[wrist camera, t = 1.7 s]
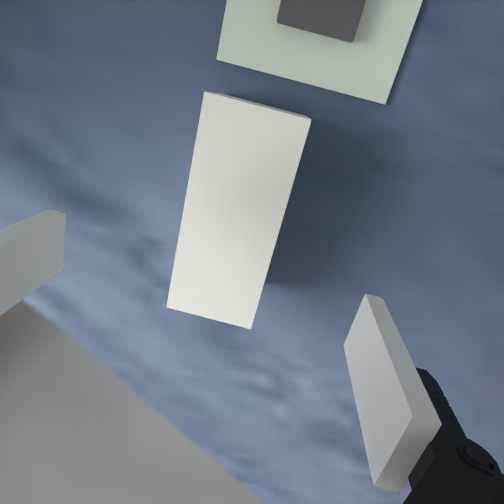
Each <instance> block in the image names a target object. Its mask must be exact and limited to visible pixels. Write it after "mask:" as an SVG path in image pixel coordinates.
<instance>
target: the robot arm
mask: <svg viewBox="0 0 504 504" xmlns="http://www.w3.org/2000/svg"><path fill="white" fill-rule="evenodd" d="M65 219H66V213H62V212H58V211H54V210H51V209H47V210H44V211H42V212H40V213H37V214H35V215H33V216H30V217H28V218H25V219H23V220H21V221H18V222H16V223H14V224H11V225H9V226H7V227H4V228H2V229H0V315H1V314H3V313H4V312H6V311H7V310H8V309H10V308H11V307H13V306H14V305H15V304H17V303H18V302H20V301H21V300H22V299H24V298H25V297H27V296H28V295H29V294H31V293H32V292H34V291H35V290H36V289H38V288H39V287H41V286H42V285H43V284H45V283H46V282H48V281H49V280H50V279H52V278H53V277H55V276H56V275H57V274H59V273H60V272H62V271H63V262H64V240H65ZM344 350H345V355H346V359H347V364H348V369H349V373H350V378H351V383H352V388H353V392H354V397H355V402H356V406H357V411H358V416H359V420H360V425H361V430H362V434H363V439H364V444H365V448H366V453H367V458H368V462H369V467H370V472H371V476H372V481H373V486H374V487H378V488H381V489H385V490H389V491H392V492H396V493H400V492H401V491H402V489H403V487H404V486H405V484H406V482H407V481H408V479H409V483H410V486H411V489H412V491H411V493H410V494H409V495H408V497H407V498H406V500H405V501H404V503H403V504H504V475H503V474H502V473H501V471H500V469H499V466H498V464H497V462H496V461H495V460H494V459H493V457H492V456H491V455H490V454H489V453H488V452H487V451H486V450H485V449H484V448H482V447H481V446H480V445H478V444H477V443H475V442H473V441H472V440H470V439H467V437H466V435H465V434H464V432H463V430H462V428H461V426H460V424H459V422H458V420H457V418H456V416H455V415H454V413H453V411H452V409H451V407H450V406H449V403H448V401H447V399H446V397H445V396H443V395H444V394H443V392H442V390H441V388H440V386H439V384H438V382H437V381H436V380H435V379H434V378H433V377H432V376H431V375H430V374H429V373H428V372H427V371H426V370H424V369H420V368H416V367H415V366H414V364H413V362H412V359H411V357H410V355H409V353H408V351H407V349H406V347H405V345H404V342H403V340H402V338H401V336H400V334H399V332H398V330H397V328H396V325H395V323H394V321H393V319H392V317H391V315H390V313H389V311H388V308H387V306H386V304H385V302H384V300H383V298H380V297H376V296H373V295H369V294H365V295H364V298H363V300H362V302H361V305H360V307H359V310H358V312H357V314H356V317H355V319H354V322H353V324H352V326H351V329H350V331H349V334H348V336H347V338H346V341H345V343H344Z"/></svg>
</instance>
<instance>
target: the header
mask: <svg viewBox="0 0 504 504" xmlns="http://www.w3.org/2000/svg"><path fill="white" fill-rule="evenodd" d="M422 1H423V0H227V3H226V9H225V14H224V20H223V25H222V31H221V36H220V42H219V47H218V53H217V58H216V60H219V61H222V62H226V63H230V64H234V65H237V66H241V67H245V68H249V69H252V70H256V71H260V72H264V73H268V74H271V75H275V76H279V77H283V78H286V79H290V80H294V81H298V82H301V83H305V84H309V85H313V86H316V87H320V88H324V89H328V90H331V91H335V92H339V93H343V94H346V95H350V96H354V97H358V98H361V99H365V100H369V101H373V102H376V103H380V104H386V101H387V98H388V96H389V93H390V90H391V87H392V84H393V82H394V79H395V76H396V73H397V71H398V68H399V65H400V62H401V59H402V57H403V54H404V51H405V48H406V46H407V43H408V40H409V37H410V34H411V32H412V29H413V26H414V23H415V21H416V18H417V15H418V12H419V10H420V7H421V4H422Z"/></svg>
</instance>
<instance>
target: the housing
mask: <svg viewBox="0 0 504 504" xmlns="http://www.w3.org/2000/svg"><path fill="white" fill-rule="evenodd" d="M310 124H311V119H310V118H308V117H307V116H305V115H301V114H298V113H294V112H290V111H286V110H283V109H279V108H275V107H271V106H268V105H264V104H260V103H256V102H253V101H249V100H245V99H241V98H237V97H234V96H230V95H226V94H220V93H212V92H205V91H204V97H203V102H202V108H201V114H200V119H199V125H198V131H197V136H196V142H195V148H194V153H193V159H192V165H191V170H190V176H189V182H188V187H187V193H186V199H185V204H184V210H183V216H182V221H181V227H180V233H179V238H178V244H177V250H176V255H175V261H174V267H173V273H172V278H171V284H170V290H169V295H168V301H167V307H168V308H171V309H175V310H179V311H183V312H187V313H191V314H194V315H198V316H202V317H206V318H210V319H213V320H217V321H221V322H225V323H229V324H232V325H236V326H240V327H244V328H248V329H251V327H252V323H253V320H254V316H255V313H256V309H257V306H258V302H259V299H260V296H261V292H262V289H263V285H264V282H265V278H266V275H267V272H268V268H269V265H270V261H271V258H272V254H273V251H274V247H275V244H276V241H277V237H278V234H279V230H280V227H281V223H282V220H283V217H284V213H285V210H286V206H287V203H288V199H289V196H290V192H291V189H292V186H293V182H294V179H295V175H296V172H297V168H298V165H299V162H300V158H301V155H302V151H303V148H304V144H305V141H306V137H307V134H308V131H309V127H310Z"/></svg>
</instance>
